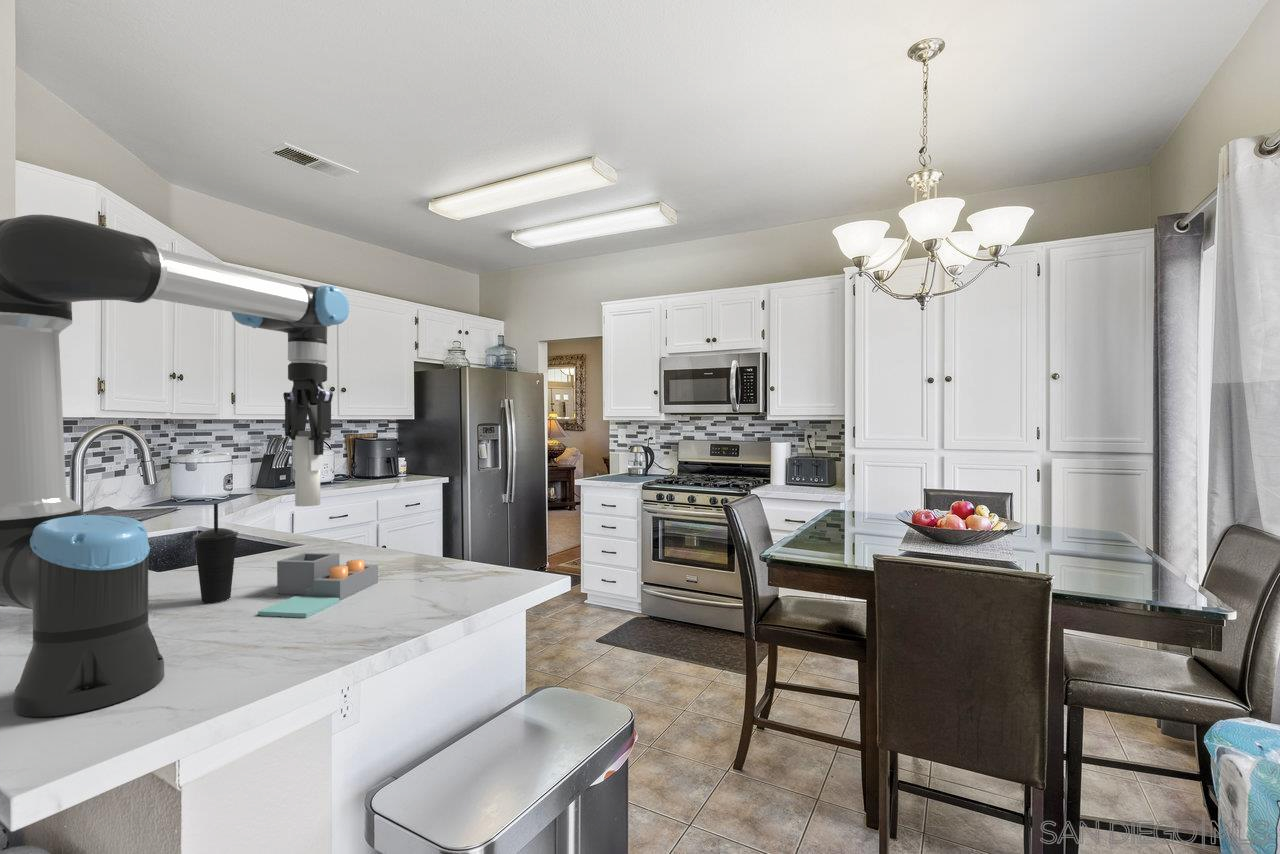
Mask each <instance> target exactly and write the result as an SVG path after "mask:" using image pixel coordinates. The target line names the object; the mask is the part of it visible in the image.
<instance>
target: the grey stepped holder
mask: <svg viewBox="0 0 1280 854" xmlns="http://www.w3.org/2000/svg"><path fill="white" fill-rule="evenodd" d="M335 566H340V553H335V552H333V553H332V552H331V553H329V552H301V553H299V554H296V555H293V556H292V555H291V556H289V557H287V558H284V559H280V560H277V561H276V569H277V570H276V572H277V573H276V577H277V578H276V580H277V581H276V584H277V585H276V587H277V588H276V589H277V590H276V591H277V592H276V593H280V594H279V595H294V594H301V595H300V596H305V597H327V598H339V601H342V600H344V599H346V598H348V597H350V596H353V595H355V594H356V593H359V592H361V591H363V590H365V589H367V588H369V587H371V586H374V585H375V584H378V583H379V565H378V564H364V570H361V571H359V572H357V571H348V576H347V577H345V578H342V579H338V578H329V568H331V567H335Z"/></svg>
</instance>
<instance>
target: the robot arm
mask: <svg viewBox="0 0 1280 854" xmlns="http://www.w3.org/2000/svg"><path fill="white" fill-rule="evenodd" d="M152 299H154V300H159V301H165V302H171V303H177V304H183V305H189V306H196V307H200V308H207V309H213V310H217V311H218V310H219V311H225V312H231V315H232V317H233V319H234V320H235V322H237V323H239V324H240V325H243V326H247V327H249V328H250V327H251V328H252V329H261V330H262V329H263V330H269V331H274V332H281V333H287V360H288V361H289V362H290V363H289V364H288V365H287V379H288V381H291V382H292V383H293V385H292V388H291V391H289V392H283V400H284V436H285V437H286V438H287V437H288V438H290V440H291V442H292V443H291V448H292V449H291V453H292V471H293V470H294V471H295V437H296V436H298V431H306V426H307V421H308V423H309V429H310V430H309V431H311V437H310V438H309V471H314V470H320V471H323V469H324V463H323V461H324V459H323V458H324V456H323V455H324V448H325V447H324V446H325V445H324V441H325V440H326V439H327V438H330V437H332V401H333V396H334V393H333V391H328V390H325V388H324V385H323V383H326V382H327V381H328V366H327V365H326V363H327V362H328V348H327V346H328V327H331V326H336V325H337V326H338V325H341V324H342V323H344V322H346V320H347V319H348V317H349V313H350V302H349V299H348V297H347V295H346V293H345V292H344V291H343V290H341V289H340V288H338V287H337V286H334V285H330V286H329V285H319V286H312V285H309V284H304V283H299V282H296V281H290V280H288V279H283V278H279V277H275V276H271V275H267V274H263V273H258V272H255V271H251V270H246V269H242V268H238V267H234V266H231V265H227V264H222V263H220V262H215V261H211V260H207V259H203V258H199V257H195V256H190V255H187V254H183V253H180V252H175V251H170V250H167V249H162V248H159V247H158V246H157V245H156V244H155V242H153V240H151V239H149V238H146V237H144V236H140V235H136V234H132V233H128V232H125V231H122V230H121V231H120V230H117V229H114V228H110V227H106V226H102V225H98V224H95V223H94V224H93V223H91V222H86V221H82V220H78V219H75V218H71V217H69V218H68V217H64V216H63V217H62V216H58V215H51V214H26V215H21V216H16V217H12V218H7V219H6V218H5V219H0V607H2V608H3V607H5V608H6V607H12V608H19V609H25V610H26V609H27V610H32V646H31V649H30V652H29V653H28V658H27V660H26V662H25V664H24V667H23V669H22V673H21V677H20V680H19V682H18V683H17V685H16V686H15V689H14V692H13V710H14V711H13V712H14V713H15V714H17V715H20V716H23V717H31V718H46V717H58V716H64V715H66V716H67V715H72V714H79V713H82V712H88V711H93V710H97V709H100V708H104V707H108V706H111V705H114V704H117V703H120V702H123V701H127V700H129V699H131V698H134V697H137V696H139V695H141V694H143V693H146V692H148V691H149V690H151V689H153V688H155V687H156V686H157V685H159V684H160V683H161V682H162V681H163V679H164V678H165V659H164V657H163V655H162V654H161V653H160V650H159V647H158V643H157V641H156V640H155V637H154V634H153V633H152V630H151V628H150V623H149V553H150V551H151V547H150V544H149V537H148V531H147V528H146V526H145V525H144V524H143V522H141V521H139V520H138V519H135V518H131V517H126V516H120V515H100V514H96V515H95V514H89V515H85V514H84V515H82V514H83V513H82V505H80V503H77V502H76V501H74V500H73V499H71V498H70V497H69V496H68V494H67V478H66V477H67V476H66V458H65V454H66V453H65V438H64V437H65V435H64V433H65V432H64V417H63V416H64V415H63V399H62V398H63V394H62V392H63V391H62V390H63V389H62V375H61V374H62V372H61V370H62V369H61V351H60V349H61V348H60V334H61V332H62V331H64V330H65V329H67V328H68V327H69V326H72V324H73V305H72V303H76V302H90V301H121V302H122V301H123V302H128V303H135V304H143V303H146V302H149V301H150V300H152Z"/></svg>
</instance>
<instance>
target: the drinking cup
mask: <svg viewBox="0 0 1280 854" xmlns="http://www.w3.org/2000/svg"><path fill="white" fill-rule="evenodd" d="M238 536H239V532H238V531H235V530H233V529H229V528H225V527H219V503H216V502H215V503H213V528H209V529H206V530H203V531H201V532H199V533H197V534H194V535H193V536H192V540H193V541H194V545H195V552H196V553H195V555H196V562H197V570H198V572H197V573H198V581H199V587H200V588H199V589H200V598H201V603H202V602H204V603H203V604H206V603H211V604H214V603H213V602H219V603H221V602H220V601H223V600H227V599H229V598H230V599H231V595H232V586H233V575H234V566H235V555H236V546H237V537H238ZM230 599H229V600H230ZM227 601H228V600H227Z"/></svg>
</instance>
